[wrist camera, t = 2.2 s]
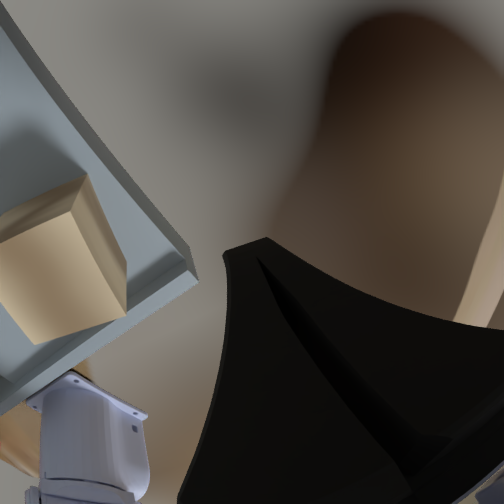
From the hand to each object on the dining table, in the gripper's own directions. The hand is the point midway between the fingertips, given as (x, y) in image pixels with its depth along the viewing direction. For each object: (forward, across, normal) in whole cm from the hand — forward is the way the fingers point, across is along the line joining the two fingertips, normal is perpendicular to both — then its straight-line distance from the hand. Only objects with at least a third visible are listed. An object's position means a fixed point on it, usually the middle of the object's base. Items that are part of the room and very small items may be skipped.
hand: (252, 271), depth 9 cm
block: (+7, +8, 0) cm, 10 cm away
